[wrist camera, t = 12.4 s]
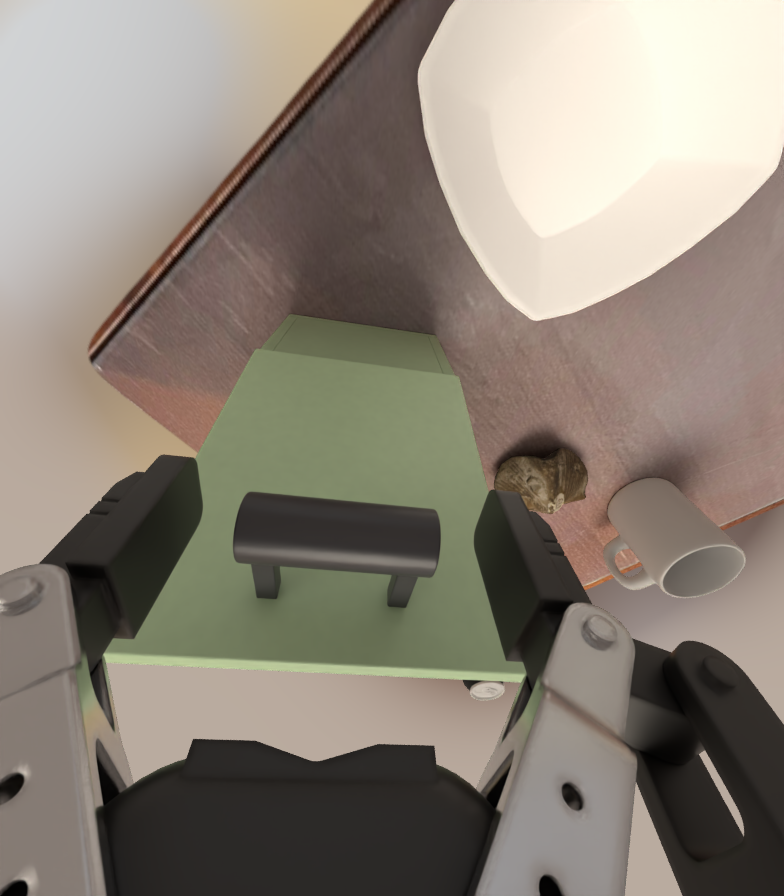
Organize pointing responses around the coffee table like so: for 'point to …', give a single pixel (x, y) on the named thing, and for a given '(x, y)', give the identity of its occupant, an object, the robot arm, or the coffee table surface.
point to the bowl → (599, 134)
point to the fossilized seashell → (544, 479)
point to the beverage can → (485, 689)
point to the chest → (359, 344)
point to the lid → (332, 531)
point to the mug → (670, 541)
